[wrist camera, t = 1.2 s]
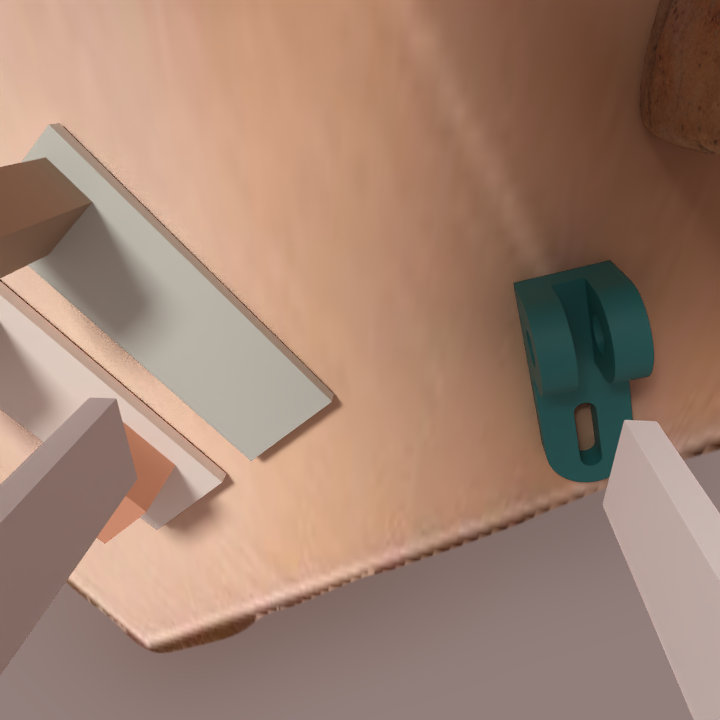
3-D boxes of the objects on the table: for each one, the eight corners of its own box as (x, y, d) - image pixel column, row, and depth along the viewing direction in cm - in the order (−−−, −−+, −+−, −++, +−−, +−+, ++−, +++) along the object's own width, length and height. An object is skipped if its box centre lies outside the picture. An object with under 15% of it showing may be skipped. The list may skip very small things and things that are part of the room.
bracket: (513, 281, 40) (532, 325, 33) (609, 259, 39) (650, 299, 32) (546, 470, 48) (568, 537, 41) (628, 457, 46) (664, 525, 39)
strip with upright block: (-11, 217, 41) (-146, 262, 31) (59, 123, 38) (-70, 140, 28) (254, 452, 49) (213, 547, 40) (333, 394, 46) (310, 482, 36)
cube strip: (-89, 324, 47) (-226, 392, 37) (-35, 251, 43) (-172, 304, 33) (162, 521, 55) (105, 619, 45) (226, 473, 51) (179, 569, 41)
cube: (86, 455, 50) (46, 500, 45) (123, 422, 48) (86, 465, 42) (137, 495, 52) (104, 543, 46) (175, 465, 49) (146, 512, 44)
